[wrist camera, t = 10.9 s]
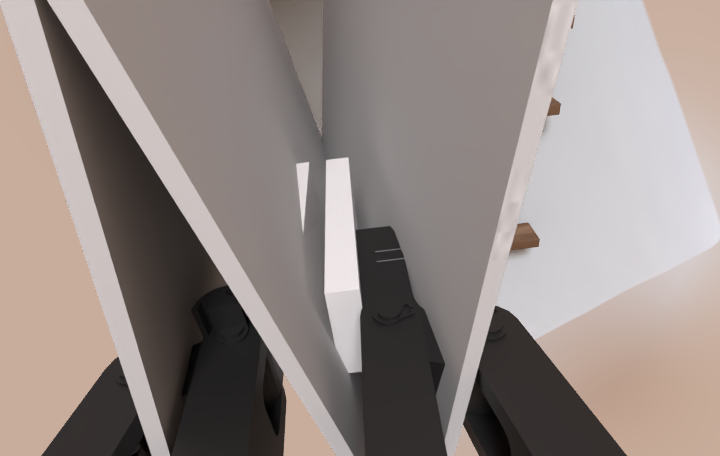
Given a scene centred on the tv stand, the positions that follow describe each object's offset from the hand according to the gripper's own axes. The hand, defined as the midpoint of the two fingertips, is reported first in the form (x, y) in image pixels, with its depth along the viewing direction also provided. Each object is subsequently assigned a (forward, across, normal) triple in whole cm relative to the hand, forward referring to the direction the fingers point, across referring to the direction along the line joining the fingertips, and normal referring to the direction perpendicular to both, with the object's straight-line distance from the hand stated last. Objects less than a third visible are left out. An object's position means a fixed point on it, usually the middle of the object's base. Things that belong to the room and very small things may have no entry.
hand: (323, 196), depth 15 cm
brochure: (+21, -3, 0) cm, 21 cm away
